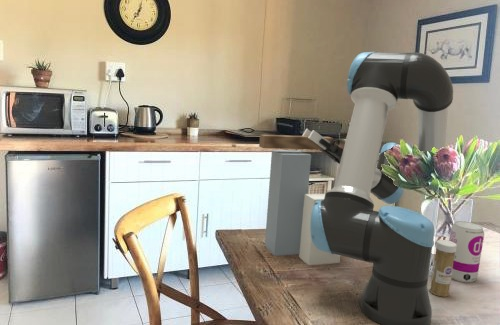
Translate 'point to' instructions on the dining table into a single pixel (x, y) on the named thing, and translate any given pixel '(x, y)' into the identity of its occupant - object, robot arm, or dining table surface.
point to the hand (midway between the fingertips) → (307, 133)
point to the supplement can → (466, 250)
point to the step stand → (292, 209)
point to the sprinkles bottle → (442, 267)
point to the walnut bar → (289, 142)
